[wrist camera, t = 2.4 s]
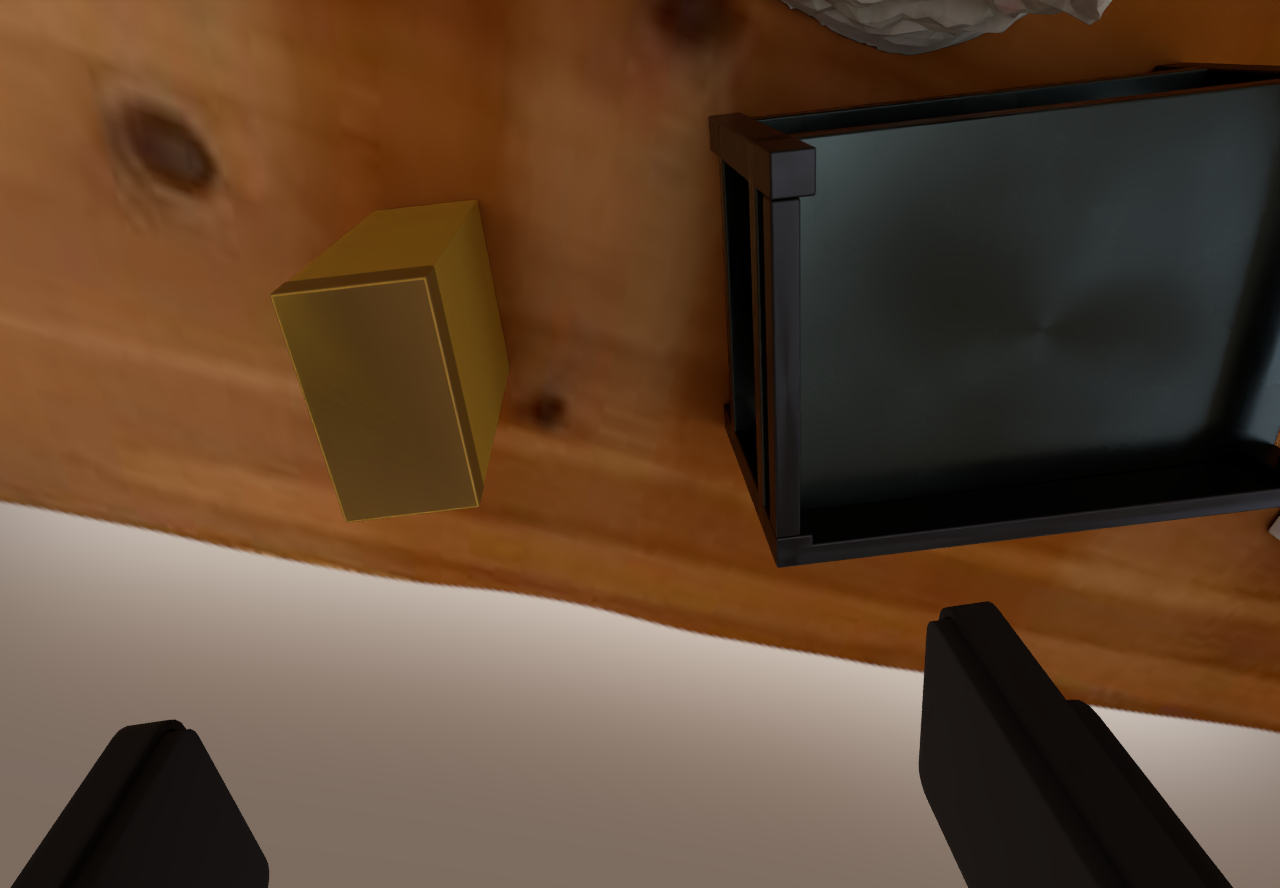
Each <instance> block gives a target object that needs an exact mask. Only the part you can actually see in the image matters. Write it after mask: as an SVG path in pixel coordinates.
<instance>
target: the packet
mask: <svg viewBox="0 0 1280 888" xmlns="http://www.w3.org/2000/svg"><path fill="white" fill-rule="evenodd" d="M270 297H271V300H272V303H273V306H274V309H275V312H276V315H277V318H278V321H279V324H280V327H281V330H282V333H283V336H284V339H285V342H286V345H287V348H288V351H289V354H290V357H291V360H292V363H293V366H294V369H295V372H296V375H297V378H298V381H299V384H300V387H301V390H302V393H303V396H304V399H305V402H306V405H307V408H308V411H309V414H310V417H311V420H312V423H313V426H314V429H315V432H316V435H317V438H318V441H319V444H320V447H321V450H322V453H323V456H324V459H325V462H326V465H327V468H328V471H329V474H330V477H331V480H332V483H333V486H334V489H335V492H336V495H337V498H338V501H339V504H340V507H341V510H342V513H343V516H344V519H345V522H356V521H365V520H373V519H381V518H390V517H398V516H407V515H415V514H423V513H432V512H440V511H448V510H457V509H465V508H474V507H479V506H480V502H481V497H482V493H483V488H484V481H485V477H486V472H487V468H488V463H489V459H490V454H491V450H492V445H493V441H494V436H495V432H496V427H497V423H498V418H499V414H500V409H501V405H502V400H503V396H504V391H505V387H506V382H507V378H508V373H509V369H510V367H509V361H508V356H507V351H506V346H505V341H504V335H503V330H502V325H501V320H500V314H499V309H498V304H497V299H496V294H495V288H494V283H493V278H492V273H491V267H490V262H489V257H488V252H487V246H486V241H485V236H484V231H483V226H482V220H481V215H480V210H479V205H478V200H477V199H475V200H466V201H457V202H448V203H440V204H431V205H422V206H413V207H404V208H396V209H387V210H378V211H373V212H372V213H371V214H370V215H368V216H367V217H366V218H365V219H363V220H362V221H361V222H360V223H359V224H357V225H356V226H355V227H354V228H352V229H351V230H350V231H349V232H347V233H346V234H345V235H344V236H343V237H341V238H340V239H339V240H338V241H336V242H335V243H334V244H333V245H331V246H330V247H329V248H328V249H327V250H325V251H324V252H323V253H322V254H320V255H319V256H318V257H317V258H315V259H314V260H313V261H312V262H311V263H309V264H308V265H307V266H306V267H304V268H303V269H302V270H301V271H300V272H298V273H297V274H296V275H295V276H293V277H292V278H291V279H290V280H288V281H287V282H285V283H284V284H282V285H281V286H280V287H279V288H278V289H276V290H275V291H274V292H273V293H271V295H270Z"/></svg>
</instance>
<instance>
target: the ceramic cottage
mask: <svg viewBox="0 0 1280 888" xmlns="http://www.w3.org/2000/svg"><path fill="white" fill-rule="evenodd" d="M780 1H782V2H784V3H786V4H787V5H788V6H789V8H790V9H794V8H796V9H798V10H800V11H802V12H804V13H806V14H807V15H808V16H813V17H814V18H815V19H817V20H818V21H819V22H820V24H821V25H826V26H827V27H828V28H829V29H831V30H832V31H834V32H837V33H839V34H840V35H843V36H846V37H848V38H850V39H853V40H855V41H857V42H858V43H864V42H865V43H866V44H867V45H870V46H877V50H882V51H885V52H889V53H902V54H903V55H914V54H920V53H924V52H931V51H934V50H938V49H941V48H944V47H948V46H951V45H958V44H960V43H962V42H965V41H968V40H971V39H973V38H975V37H978V36H980V35H982V34H984V33H986V32H990V33H1002V32H1004V31H1005V30H1006V29H1007V28H1008V27H1009V26H1010V25H1012V24H1013V23H1014V22H1015V21H1016V20H1018V19H1020V18H1021V17H1023V16H1025V15H1026V14H1028V13H1032V14H1057V13H1060V12H1063V11H1064V12H1066V13H1068V14H1069V15H1071V16H1073V17H1075V18H1077V19H1078V20H1080V21H1082V22H1084V23H1086V24H1088V25H1091V24H1092V23H1094V22H1095V21H1099V19H1100V17H1101V15H1102V13H1103V11H1104V10H1105V9H1106V7H1107V6H1108V5H1109V4H1110V2H1111V1H1112V0H780Z"/></svg>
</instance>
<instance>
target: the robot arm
mask: <svg viewBox="0 0 1280 888" xmlns="http://www.w3.org/2000/svg"><path fill="white" fill-rule="evenodd" d="M919 773H920V779H921V783H922V786H923V790H924V793H925V795H926V798H927V800H928V802H929V804H930V806H931V808H932V811H933V813H934V815H935V817H936V819H937V821H938V823H939V826H940V828H941V830H942V832H943V834H944V836H945V838H946V840H947V843H948V845H949V847H950V849H951V851H952V853H953V856H954V858H955V860H956V862H957V864H958V867H959V869H960V871H961V873H962V875H963V877H964V879H965V882H966V884H967V886H968V888H1233V887H1232V886H1231V884H1230V883H1229V882H1228V881H1227V879H1226V878H1225V877H1224V875H1223V874H1222V873H1221V872H1220V870H1219V869H1218V868H1217V866H1216V865H1215V864H1214V863H1213V861H1212V860H1211V859H1210V858H1209V856H1208V855H1207V854H1206V852H1205V851H1204V850H1203V849H1202V847H1201V846H1200V845H1199V843H1198V842H1197V841H1196V840H1195V839H1194V837H1193V836H1192V835H1191V833H1190V832H1189V831H1188V829H1187V828H1186V827H1185V825H1184V824H1183V823H1182V822H1181V821H1180V819H1179V818H1178V817H1177V815H1176V814H1175V813H1174V811H1173V810H1172V809H1171V808H1170V807H1169V805H1168V804H1167V802H1166V801H1165V800H1164V799H1163V797H1162V796H1161V795H1160V793H1159V792H1158V791H1157V790H1156V788H1155V787H1154V786H1153V784H1152V783H1151V782H1150V781H1149V779H1148V778H1147V777H1146V776H1145V774H1144V773H1143V772H1142V770H1141V769H1140V768H1139V767H1138V765H1137V764H1136V763H1135V762H1134V760H1133V759H1132V758H1131V756H1130V755H1129V754H1128V752H1127V751H1126V750H1125V749H1124V747H1123V746H1122V745H1121V744H1120V742H1119V741H1118V740H1117V738H1116V737H1115V736H1114V735H1113V733H1112V732H1111V731H1110V729H1109V728H1108V727H1107V726H1106V724H1105V723H1104V722H1103V721H1102V719H1101V718H1100V717H1099V716H1098V715H1097V713H1096V712H1095V711H1094V710H1093V709H1092V708H1091V707H1090V706H1089V705H1087V704H1085V703H1084V702H1082V701H1080V700H1066V699H1065V698H1064V696H1063V695H1062V694H1061V692H1060V691H1059V690H1058V688H1057V687H1056V686H1055V684H1054V683H1053V682H1052V680H1051V679H1050V678H1049V676H1048V675H1047V674H1046V672H1045V671H1044V670H1043V668H1042V667H1041V666H1040V664H1039V663H1038V662H1037V660H1036V659H1035V658H1034V656H1033V655H1032V654H1031V652H1030V651H1029V650H1028V648H1027V647H1026V646H1025V644H1024V643H1023V642H1022V640H1021V639H1020V638H1019V636H1018V635H1017V634H1016V632H1015V631H1014V630H1013V628H1012V627H1011V626H1010V624H1009V623H1008V622H1007V620H1006V619H1005V618H1004V616H1003V615H1002V614H1001V612H1000V611H999V610H998V609H997V607H996V606H995V605H994V604H993V603H990V602H988V601H987V602H980V603H973V604H966V605H959V606H952V607H946V608H943V609H942V610H941V612H940V617H939V620H938V621H931V622H929V624H928V626H927V636H926V652H925V669H924V685H923V702H922V719H921V735H920V751H919ZM268 882H269V867H268V863H267V860H266V858H265V856H264V854H263V852H262V851H261V849H260V847H259V845H258V843H257V841H256V840H255V838H254V836H253V834H252V832H251V830H250V829H249V827H248V825H247V823H246V821H245V820H244V818H243V816H242V814H241V812H240V811H239V809H238V807H237V805H236V803H235V801H234V800H233V798H232V796H231V794H230V792H229V791H228V789H227V787H226V785H225V783H224V781H223V780H222V778H221V776H220V774H219V772H218V770H217V769H216V767H215V765H214V763H213V761H212V760H211V758H210V756H209V754H208V752H207V750H206V749H205V747H204V745H203V743H202V742H201V740H200V738H199V736H198V735H197V733H196V732H195V731H193V730H191V729H187V730H186V728H185V727H184V726H183V724H182V723H181V722H179V721H177V720H166V721H159V722H152V723H145V724H138V725H132V726H126V727H124V728H122V729H121V730H119V731H118V732H117V734H116V735H115V736H114V737H113V738H112V740H111V741H110V743H109V744H108V745H107V747H106V748H105V750H104V751H103V753H102V754H101V756H100V757H99V759H98V760H97V762H96V763H95V765H94V766H93V767H92V769H91V771H90V772H89V773H88V775H87V776H86V778H85V779H84V781H83V782H82V784H81V785H80V787H79V788H78V790H77V791H76V792H75V794H74V795H73V797H72V798H71V800H70V801H69V803H68V804H67V806H66V807H65V809H64V810H63V811H62V813H61V814H60V816H59V817H58V819H57V820H56V822H55V823H54V825H53V826H52V828H51V829H50V831H49V832H48V834H47V835H46V837H45V838H44V839H43V841H42V842H41V844H40V845H39V847H38V848H37V850H36V851H35V853H34V854H33V855H32V857H31V858H30V860H29V861H28V863H27V864H26V866H25V867H24V869H23V870H22V872H21V873H20V875H19V876H18V877H17V879H16V880H15V882H14V883H13V885H12V886H11V888H268Z"/></svg>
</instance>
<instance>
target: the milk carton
mask: <svg viewBox="0 0 1280 888" xmlns="http://www.w3.org/2000/svg"><path fill="white" fill-rule="evenodd" d="M1269 533H1270V534H1272V535H1273V536H1274V537H1276V538H1277V539H1279V540H1280V516H1279V517H1278V519H1277V520H1276V521H1275V522H1274V524H1273V525H1272V526H1271V528H1270V529H1269Z"/></svg>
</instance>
